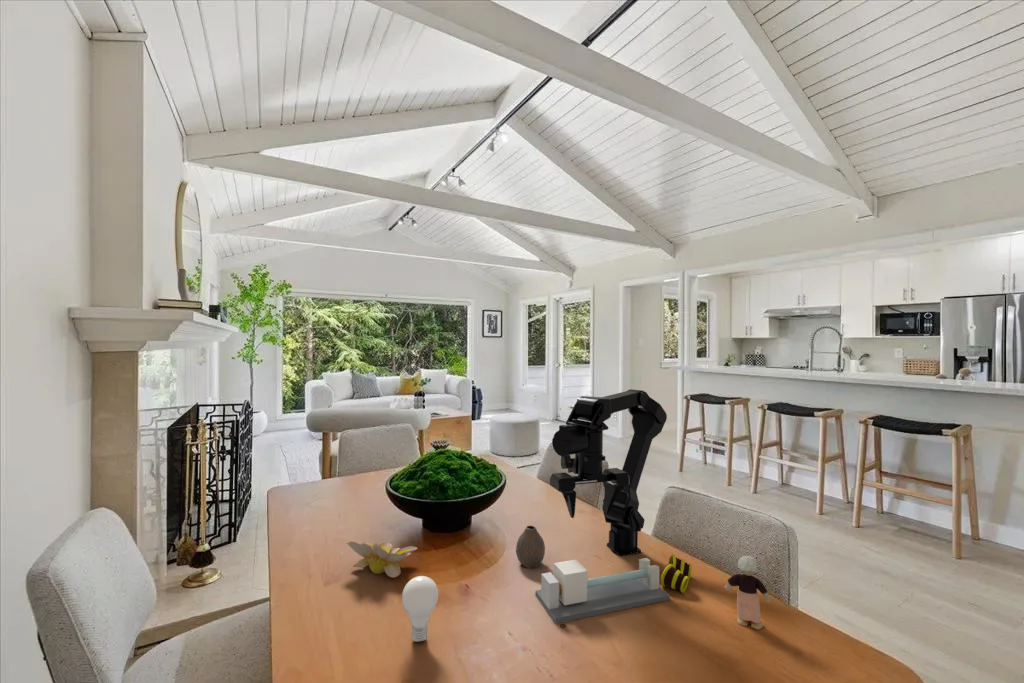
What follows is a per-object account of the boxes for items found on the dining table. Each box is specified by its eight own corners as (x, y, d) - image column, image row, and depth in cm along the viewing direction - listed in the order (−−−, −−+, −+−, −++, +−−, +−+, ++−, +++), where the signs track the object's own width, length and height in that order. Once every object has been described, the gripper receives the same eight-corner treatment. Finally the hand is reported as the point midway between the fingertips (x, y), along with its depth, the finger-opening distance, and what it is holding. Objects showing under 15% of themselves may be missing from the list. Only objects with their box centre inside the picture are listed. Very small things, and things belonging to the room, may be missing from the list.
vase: (542, 572, 104) (543, 534, 105) (513, 569, 106) (513, 531, 106) (546, 559, 111) (547, 523, 111) (518, 555, 113) (519, 520, 113)
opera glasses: (683, 600, 96) (688, 578, 95) (658, 588, 98) (663, 567, 98) (690, 579, 104) (695, 559, 104) (667, 569, 107) (671, 549, 106)
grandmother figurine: (767, 621, 87) (767, 555, 87) (771, 633, 84) (772, 564, 84) (723, 612, 90) (724, 548, 90) (725, 624, 86) (726, 557, 86)
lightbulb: (403, 629, 83) (404, 569, 83) (439, 628, 84) (439, 568, 84) (398, 653, 77) (399, 588, 77) (436, 651, 77) (437, 587, 77)
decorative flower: (430, 556, 108) (422, 518, 106) (401, 590, 98) (392, 549, 96) (380, 548, 114) (372, 512, 112) (348, 579, 104) (339, 540, 102)
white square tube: (575, 588, 95) (575, 559, 95) (586, 601, 91) (587, 570, 91) (553, 592, 94) (554, 563, 94) (564, 605, 89) (564, 574, 89)
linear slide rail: (640, 576, 104) (641, 549, 104) (669, 599, 94) (670, 570, 94) (535, 595, 95) (535, 566, 95) (555, 623, 86) (556, 591, 86)
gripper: (606, 440, 119) (605, 500, 119) (541, 444, 113) (540, 507, 113) (631, 450, 108) (630, 515, 108) (560, 455, 102) (559, 524, 102)
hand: (589, 515), depth 108 cm, fingers open, 9 cm apart
